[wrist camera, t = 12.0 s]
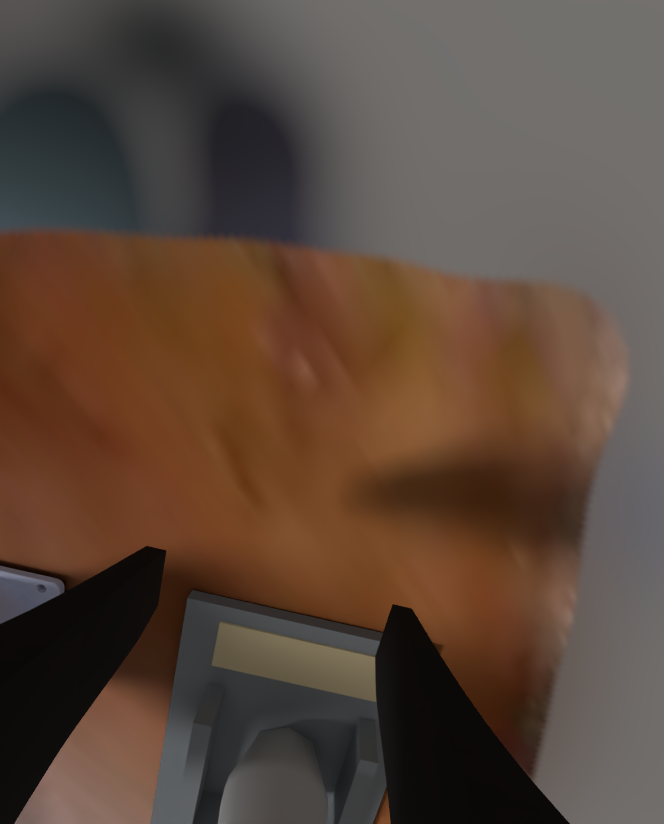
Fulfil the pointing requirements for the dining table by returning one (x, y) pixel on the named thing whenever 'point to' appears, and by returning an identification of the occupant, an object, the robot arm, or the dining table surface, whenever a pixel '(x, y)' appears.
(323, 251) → the dining table surface
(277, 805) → the salt shaker
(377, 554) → the dining table surface
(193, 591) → the stand
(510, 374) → the dining table surface
